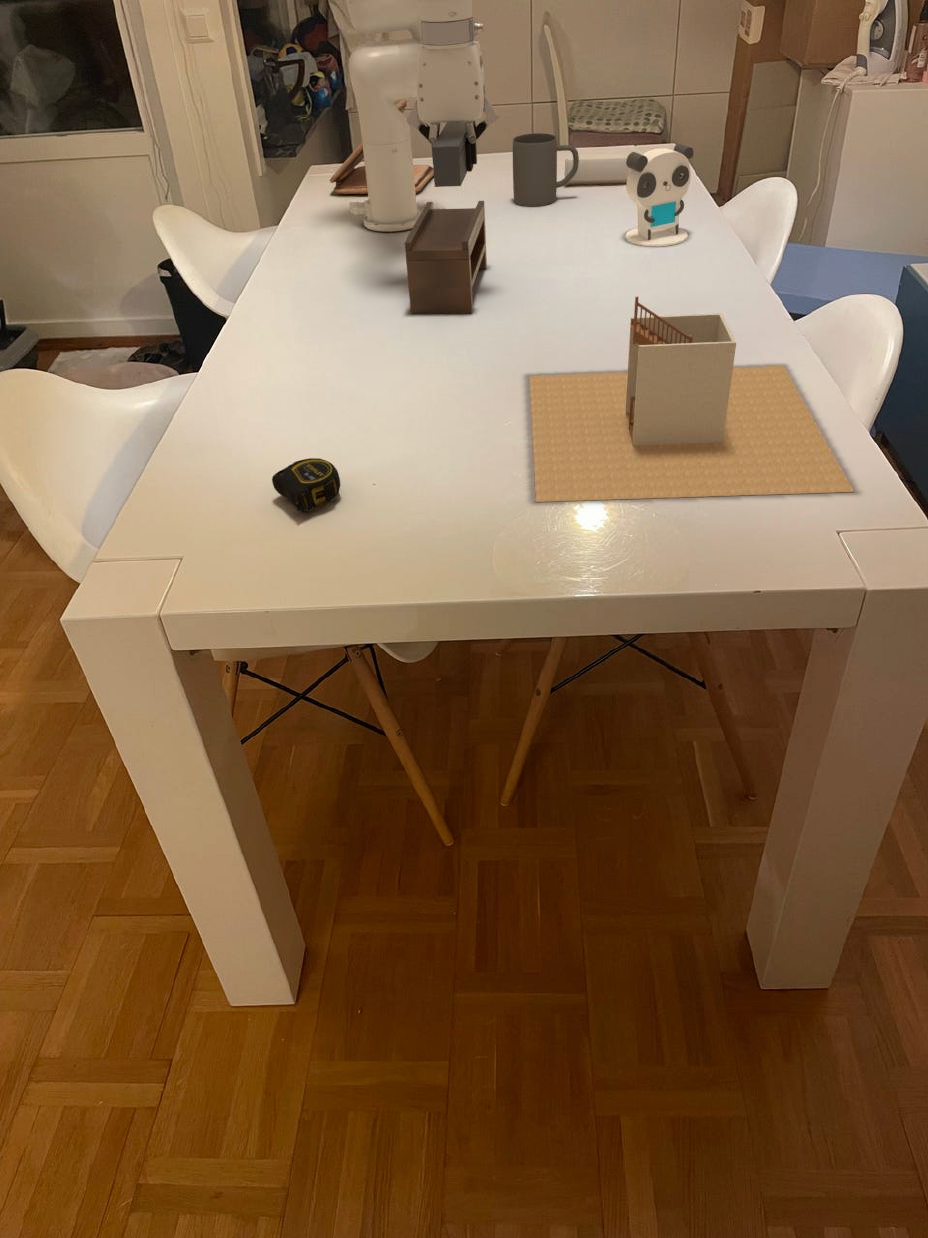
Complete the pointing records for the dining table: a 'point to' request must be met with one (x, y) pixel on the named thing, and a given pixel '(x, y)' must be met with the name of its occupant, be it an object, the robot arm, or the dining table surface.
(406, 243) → the shelf
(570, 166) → the tube
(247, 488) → the dining table surface
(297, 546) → the dining table surface
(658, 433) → the staircase
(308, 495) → the tape measure
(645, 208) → the panda standee
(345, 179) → the case
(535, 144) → the mug
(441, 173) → the case
